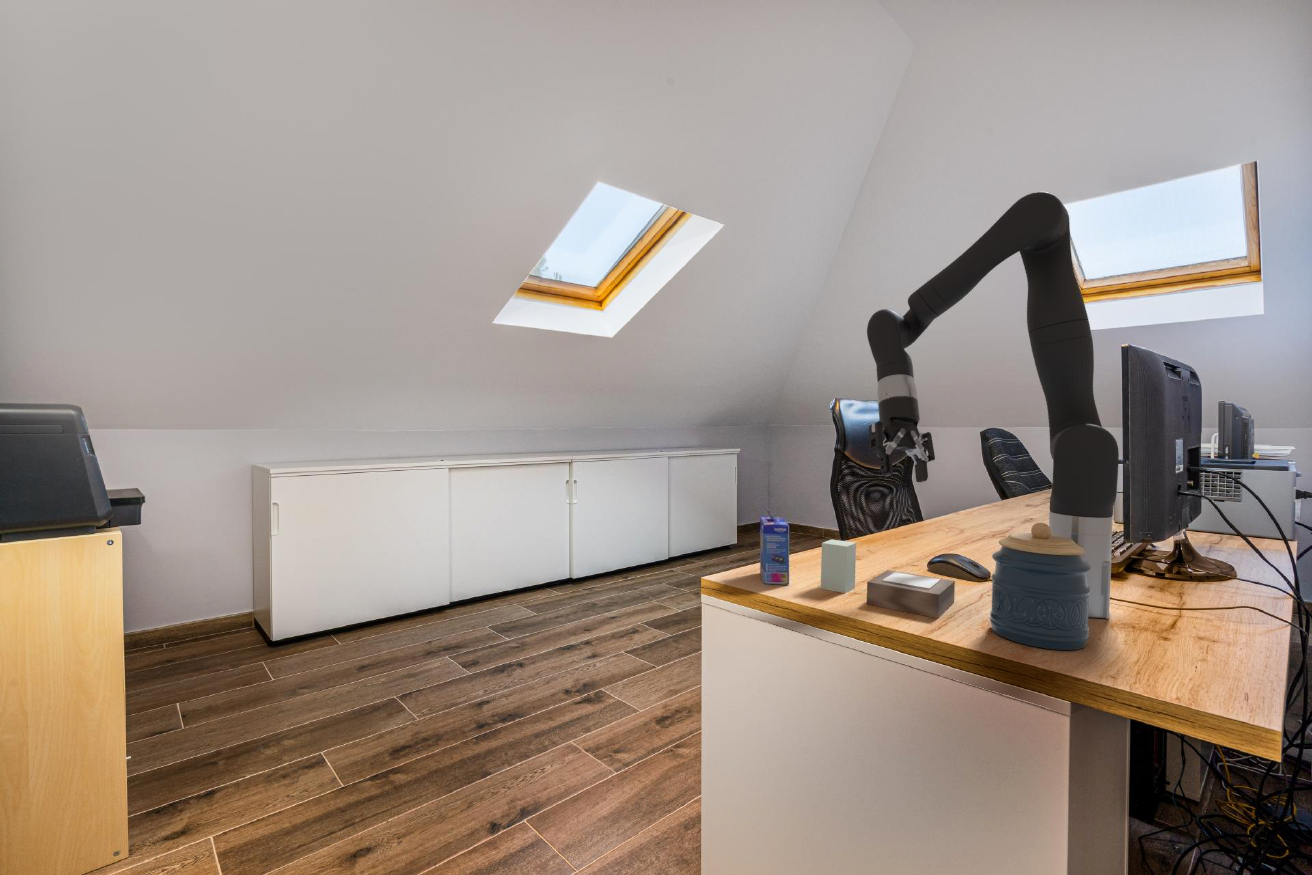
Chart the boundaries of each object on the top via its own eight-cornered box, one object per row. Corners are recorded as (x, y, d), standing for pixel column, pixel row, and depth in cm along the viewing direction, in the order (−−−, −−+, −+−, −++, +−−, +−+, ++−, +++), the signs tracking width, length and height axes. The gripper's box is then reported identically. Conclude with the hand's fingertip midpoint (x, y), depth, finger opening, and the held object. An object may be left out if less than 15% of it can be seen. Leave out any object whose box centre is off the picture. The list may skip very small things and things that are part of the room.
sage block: (854, 587, 119) (856, 542, 119) (845, 593, 115) (846, 546, 115) (830, 583, 122) (831, 539, 122) (820, 588, 118) (821, 542, 118)
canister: (980, 636, 93) (984, 522, 92) (998, 617, 102) (1002, 513, 102) (1084, 659, 84) (1089, 533, 84) (1092, 635, 94) (1097, 523, 94)
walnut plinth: (954, 602, 111) (954, 579, 110) (938, 618, 101) (939, 592, 101) (887, 590, 118) (887, 568, 118) (866, 603, 108) (867, 580, 108)
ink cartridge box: (758, 572, 130) (759, 505, 130) (784, 573, 130) (785, 506, 130) (761, 584, 121) (763, 512, 120) (789, 585, 120) (791, 513, 120)
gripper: (882, 388, 117) (890, 468, 112) (938, 401, 122) (948, 479, 117) (856, 401, 124) (862, 477, 118) (911, 414, 128) (918, 487, 123)
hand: (905, 478), depth 117 cm, fingers open, 8 cm apart
